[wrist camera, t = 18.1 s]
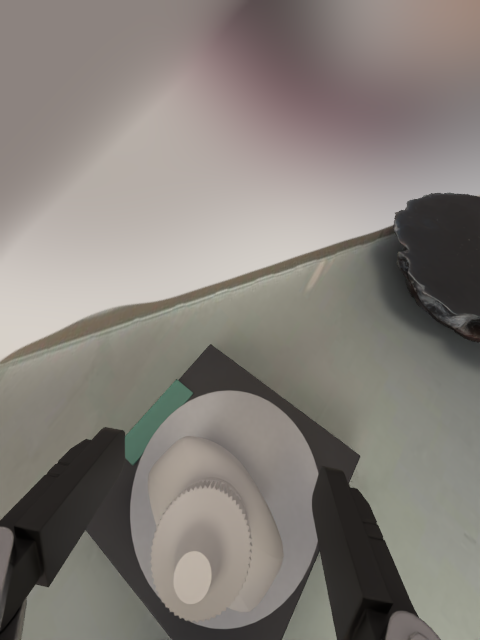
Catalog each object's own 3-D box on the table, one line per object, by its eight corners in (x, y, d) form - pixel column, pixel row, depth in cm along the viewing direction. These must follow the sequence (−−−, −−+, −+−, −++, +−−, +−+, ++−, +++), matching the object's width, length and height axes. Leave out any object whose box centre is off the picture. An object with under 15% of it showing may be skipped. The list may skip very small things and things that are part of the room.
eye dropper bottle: (196, 555, 13) (54, 988, 3) (178, 447, 16) (69, 450, 5) (268, 524, 14) (380, 769, 3) (240, 426, 16) (254, 391, 6)
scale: (86, 497, 17) (56, 507, 14) (211, 352, 22) (208, 339, 20) (241, 684, 13) (243, 749, 10) (346, 454, 19) (366, 456, 16)
